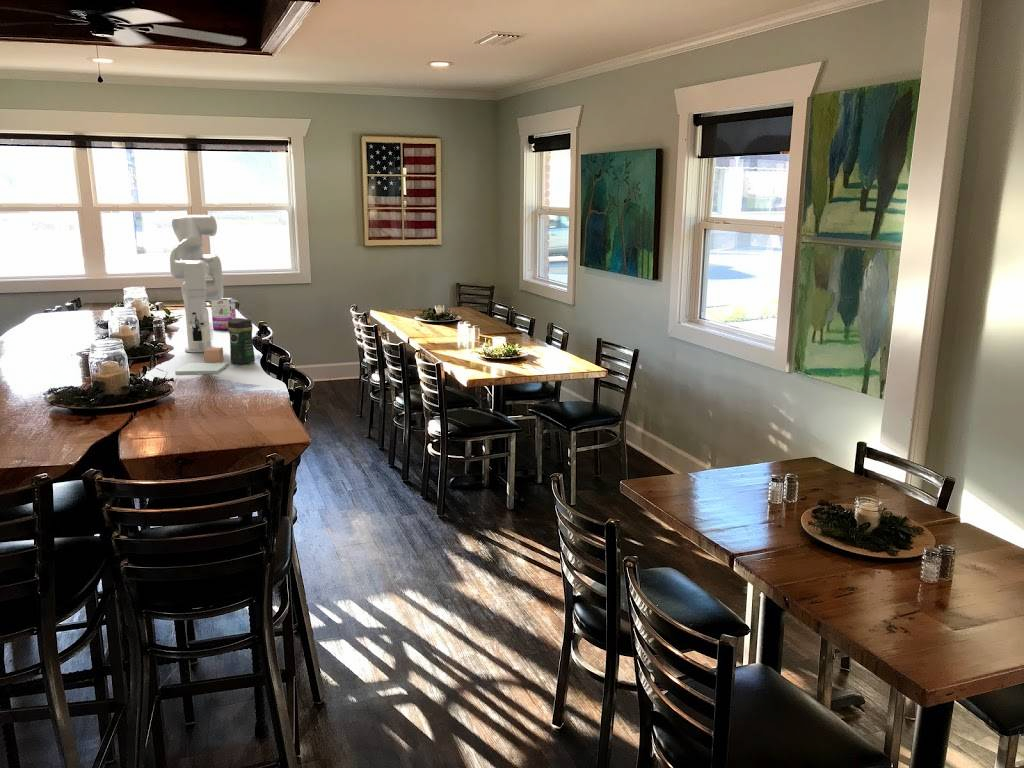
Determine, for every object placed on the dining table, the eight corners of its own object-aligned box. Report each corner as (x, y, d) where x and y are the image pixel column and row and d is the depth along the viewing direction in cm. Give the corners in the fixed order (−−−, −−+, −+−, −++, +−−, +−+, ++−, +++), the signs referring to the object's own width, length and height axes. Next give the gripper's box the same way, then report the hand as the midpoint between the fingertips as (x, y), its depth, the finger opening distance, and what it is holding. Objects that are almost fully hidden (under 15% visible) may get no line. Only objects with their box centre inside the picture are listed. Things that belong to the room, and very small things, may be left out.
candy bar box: (237, 329, 422) (235, 297, 419) (232, 330, 418) (230, 299, 414) (217, 328, 424) (215, 297, 420) (212, 329, 419) (210, 298, 416)
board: (187, 366, 328) (187, 363, 327) (228, 365, 329) (228, 362, 329) (175, 374, 312) (175, 371, 312) (218, 373, 313) (217, 370, 313)
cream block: (194, 340, 320) (193, 325, 319) (210, 339, 321) (208, 324, 320) (190, 342, 315) (188, 327, 313) (206, 342, 315) (204, 327, 314)
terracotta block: (209, 361, 337) (207, 347, 335) (223, 361, 337) (222, 347, 336) (205, 364, 331) (203, 350, 330) (220, 364, 332) (219, 350, 330)
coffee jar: (258, 362, 336) (255, 318, 332) (243, 365, 329) (240, 320, 325) (242, 359, 341) (239, 316, 337) (227, 363, 334) (223, 318, 330)
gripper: (192, 291, 322) (196, 336, 326) (179, 296, 305) (183, 343, 309) (212, 291, 322) (215, 336, 326) (199, 296, 306) (203, 343, 310)
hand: (200, 339), depth 318 cm, fingers closed on cream block, 6 cm apart
